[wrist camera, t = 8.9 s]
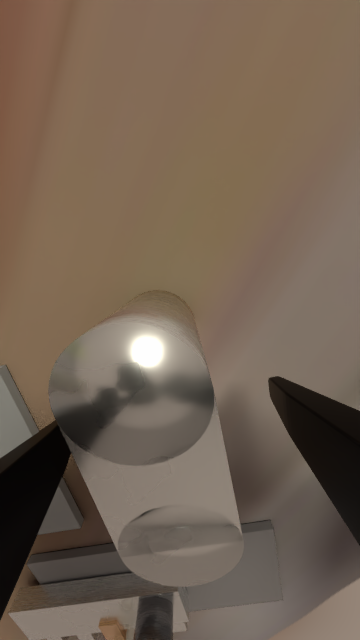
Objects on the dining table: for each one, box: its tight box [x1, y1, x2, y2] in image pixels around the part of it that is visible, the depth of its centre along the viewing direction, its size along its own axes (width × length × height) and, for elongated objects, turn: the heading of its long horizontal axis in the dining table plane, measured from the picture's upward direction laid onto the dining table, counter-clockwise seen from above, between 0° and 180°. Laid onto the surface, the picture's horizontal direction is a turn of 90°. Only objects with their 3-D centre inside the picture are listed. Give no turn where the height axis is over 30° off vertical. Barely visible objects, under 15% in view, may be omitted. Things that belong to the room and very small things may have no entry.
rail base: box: [27, 520, 283, 640], centre depth 14 cm, size 19×9×4 cm, turn 102°
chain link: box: [49, 290, 244, 587], centre depth 8 cm, size 4×10×6 cm, turn 12°
